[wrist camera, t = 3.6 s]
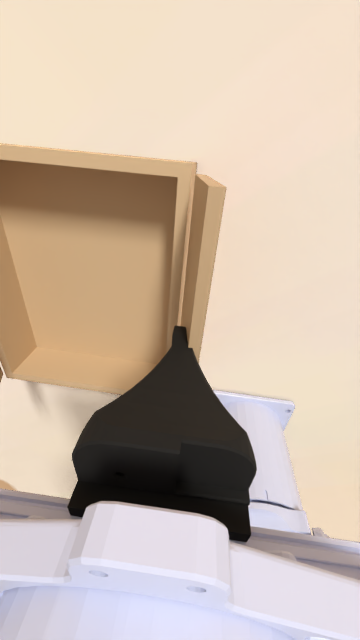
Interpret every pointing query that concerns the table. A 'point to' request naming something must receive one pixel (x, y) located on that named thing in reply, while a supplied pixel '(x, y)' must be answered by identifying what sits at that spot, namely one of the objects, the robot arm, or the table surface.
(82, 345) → the carton
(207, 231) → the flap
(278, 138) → the table surface
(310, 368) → the table surface
